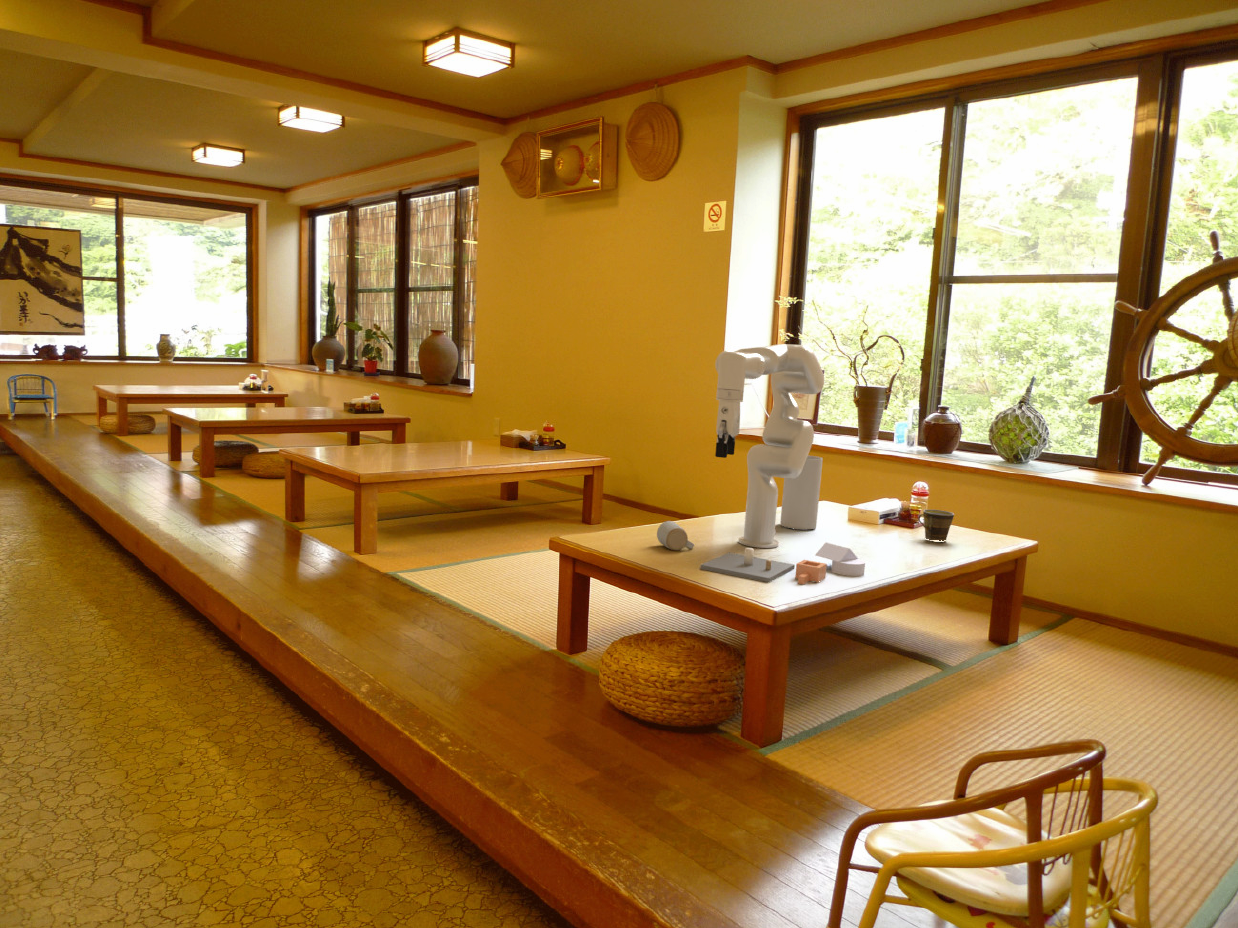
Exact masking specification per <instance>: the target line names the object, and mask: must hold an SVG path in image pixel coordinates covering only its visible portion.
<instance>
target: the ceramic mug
mask: <svg viewBox="0 0 1238 928" xmlns="http://www.w3.org/2000/svg"><path fill="white" fill-rule="evenodd" d="M656 531H657V532H656V538H657V540H658V542H659V543H660V544H661V545H663V546H664V547H666V548H667V549H669V550H671V551H680V550H682V549H683V548H685V547H686V548H688V549H691V550H693V548H694V547H695V544H694V543H693V542H691V541H690V540H689V538H688V534H687V532H686V531H685V529H684V528H683V527H681V526H680V525H679V524H678V523H676V522H675V521H671V520H667V521H666V520H665V521H664V522H662V523H661V524H660V525H659V526H658V528H657V529H656Z"/></svg>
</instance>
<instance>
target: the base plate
mask: <svg viewBox="0 0 1238 928" xmlns="http://www.w3.org/2000/svg"><path fill="white" fill-rule="evenodd" d="M744 549H745V550H744V554H740V553H735V552H727V553H725V554H723V555H720V556H718V557H715V558H713V559H710V560H709V561H706V562H704V563H700V567H699V568H700V570H704V571H708V572H709V571H710V572H714V573H719V574H725V575H728V576H734V577H740V578H743V579H749V580H754V581H758V580H760V581H759V582H763V581H765V582H764V583H768V582H769V583H771V582H773V581H775V580H776V579H778V578H780V577H782V576H785V574H788V573H789V572H791V571H793V570H794V569H795V568H796V566H795V565H796V564H793V563H788V562H782V561H779V560H778V561H777V560H772V559H770V560H771V570H766V560H768V559H766V558H762V557H761V558H760V557H756V556H754V552H755V549H754V547H753V548H752V547H745V548H744ZM772 580H773V581H772ZM770 581H771V582H770Z"/></svg>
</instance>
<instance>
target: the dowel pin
mask: <svg viewBox="0 0 1238 928" xmlns="http://www.w3.org/2000/svg"><path fill="white" fill-rule="evenodd" d="M771 560H772V559H767V560H766V570H771Z"/></svg>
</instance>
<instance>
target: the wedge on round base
mask: <svg viewBox="0 0 1238 928" xmlns="http://www.w3.org/2000/svg"><path fill="white" fill-rule="evenodd" d="M814 556H817V557H818V558H819V557H820V558H822V559H823V558H824V559H827V560H830V561H832V562H831V569H832V570H831V571H832V572H833V573H835V574H838V573H839V575H844V576H848V577H859V576H860V577H861V576H864V575H865V569H866V561H865V560H864V559H860V558H858V556H857V555H856V554H855V553H854V552H853V550H851V548H848V547H845V546H841V545H837V544H833V543H829V542H825V543H824V544H823V545H822V546H821V548H820V549H818V551H817V552H816V553H815V554H814ZM863 574H864V575H863Z"/></svg>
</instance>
